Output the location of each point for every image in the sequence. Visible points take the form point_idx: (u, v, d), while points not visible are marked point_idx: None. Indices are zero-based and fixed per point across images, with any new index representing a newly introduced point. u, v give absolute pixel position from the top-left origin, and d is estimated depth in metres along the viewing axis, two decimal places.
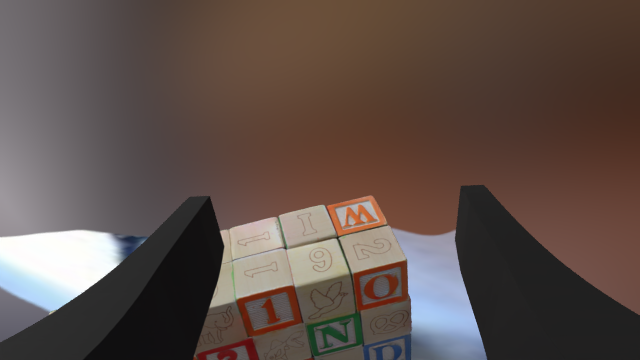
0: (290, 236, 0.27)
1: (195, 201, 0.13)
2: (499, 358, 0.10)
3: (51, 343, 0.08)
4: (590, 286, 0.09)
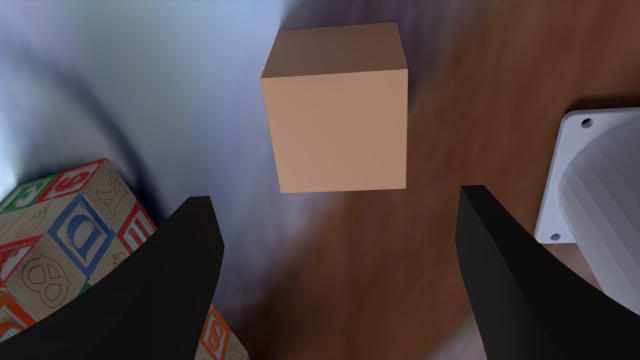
0: None
1: (195, 201, 0.13)
2: (499, 358, 0.10)
3: (51, 343, 0.08)
4: (590, 286, 0.09)
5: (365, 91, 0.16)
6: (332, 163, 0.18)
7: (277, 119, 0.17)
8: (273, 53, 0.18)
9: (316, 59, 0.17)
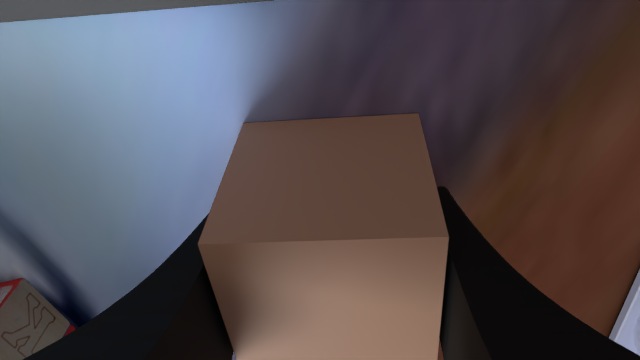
0: None
1: None
2: (451, 358, 0.10)
3: (107, 342, 0.08)
4: (532, 287, 0.09)
5: (375, 264, 0.10)
6: (321, 350, 0.11)
7: (231, 295, 0.10)
8: (228, 177, 0.11)
9: (293, 199, 0.10)
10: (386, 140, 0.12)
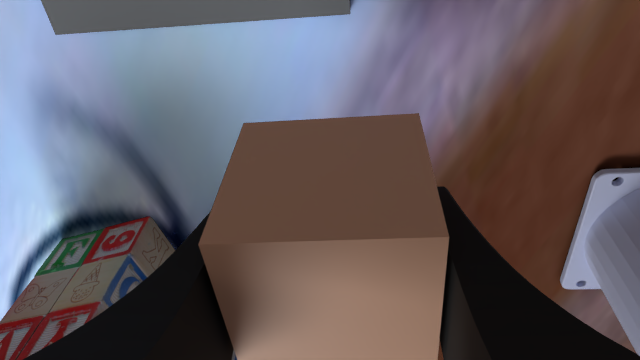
0: None
1: None
2: (451, 358, 0.10)
3: (107, 342, 0.08)
4: (532, 287, 0.09)
5: (376, 264, 0.10)
6: (322, 350, 0.11)
7: (231, 296, 0.10)
8: (228, 177, 0.11)
9: (294, 199, 0.10)
10: (386, 140, 0.12)
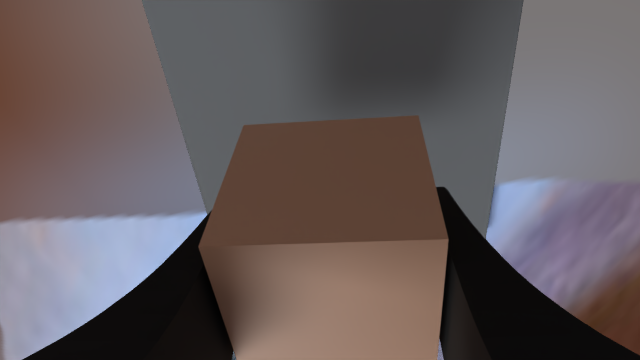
0: None
1: None
2: (451, 358, 0.10)
3: (107, 342, 0.08)
4: (532, 287, 0.09)
5: (375, 267, 0.10)
6: (322, 351, 0.11)
7: (231, 297, 0.10)
8: (228, 179, 0.11)
9: (294, 201, 0.10)
10: (386, 142, 0.12)
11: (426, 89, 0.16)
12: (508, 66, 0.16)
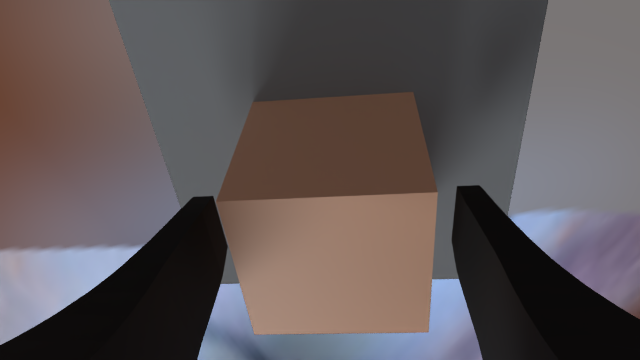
0: None
1: (198, 201, 0.13)
2: (494, 358, 0.10)
3: (57, 343, 0.08)
4: (584, 286, 0.09)
5: (373, 219, 0.11)
6: (325, 303, 0.13)
7: (244, 251, 0.12)
8: (240, 147, 0.13)
9: (300, 164, 0.12)
10: (383, 115, 0.13)
11: (434, 116, 0.15)
12: (525, 92, 0.14)
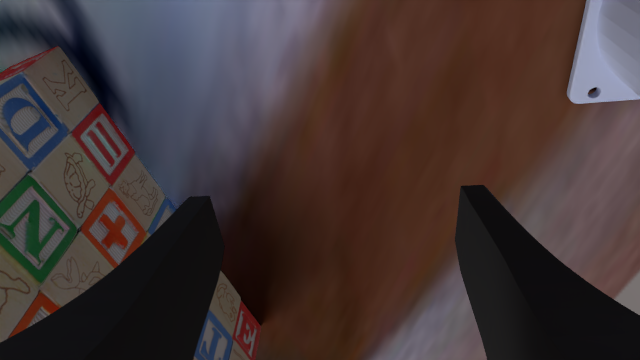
0: None
1: (195, 201, 0.13)
2: (499, 358, 0.10)
3: (51, 343, 0.08)
4: (590, 286, 0.09)
5: None
6: None
7: None
8: None
9: None
10: None
11: None
12: None
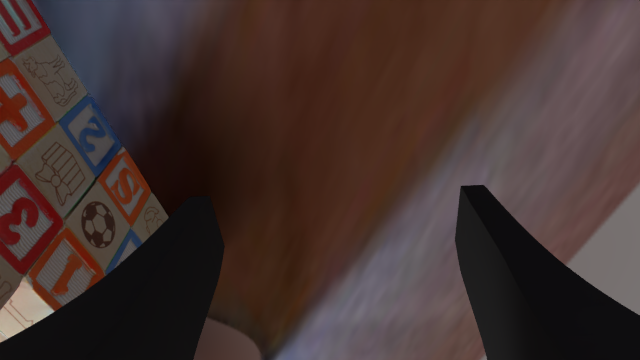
0: None
1: (195, 201, 0.13)
2: (499, 358, 0.10)
3: (51, 343, 0.08)
4: (590, 286, 0.09)
5: None
6: None
7: None
8: None
9: None
10: None
11: None
12: None
